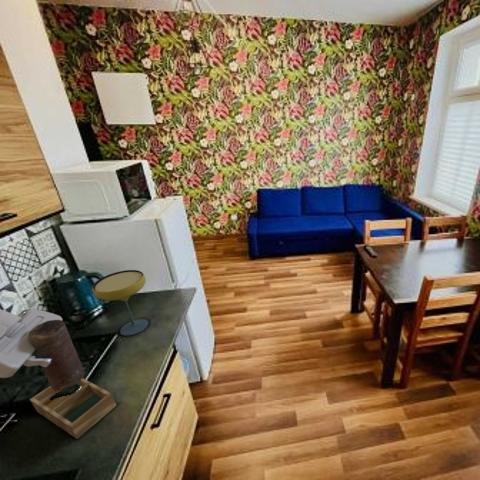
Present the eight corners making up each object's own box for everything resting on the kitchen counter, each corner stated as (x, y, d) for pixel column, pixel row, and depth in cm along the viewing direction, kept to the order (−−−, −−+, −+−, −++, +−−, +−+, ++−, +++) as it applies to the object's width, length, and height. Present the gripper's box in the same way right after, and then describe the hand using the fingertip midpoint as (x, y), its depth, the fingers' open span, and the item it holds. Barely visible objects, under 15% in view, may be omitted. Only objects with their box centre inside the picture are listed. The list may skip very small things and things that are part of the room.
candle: (88, 367, 84) (66, 315, 76) (85, 384, 78) (60, 331, 70) (55, 378, 80) (28, 325, 72) (50, 397, 74) (19, 342, 66)
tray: (36, 411, 85) (29, 399, 83) (77, 383, 94) (71, 371, 92) (77, 439, 78) (70, 426, 75) (116, 405, 87) (111, 393, 85)
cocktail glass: (101, 344, 111) (80, 294, 102) (122, 316, 128) (106, 271, 118) (148, 338, 115) (132, 289, 105) (163, 312, 131) (150, 268, 121)
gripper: (20, 314, 78) (72, 334, 84) (-45, 370, 60) (27, 390, 66) (33, 299, 77) (84, 320, 84) (-29, 351, 59) (42, 373, 65)
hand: (59, 351), depth 75 cm, fingers closed on candle, 7 cm apart
